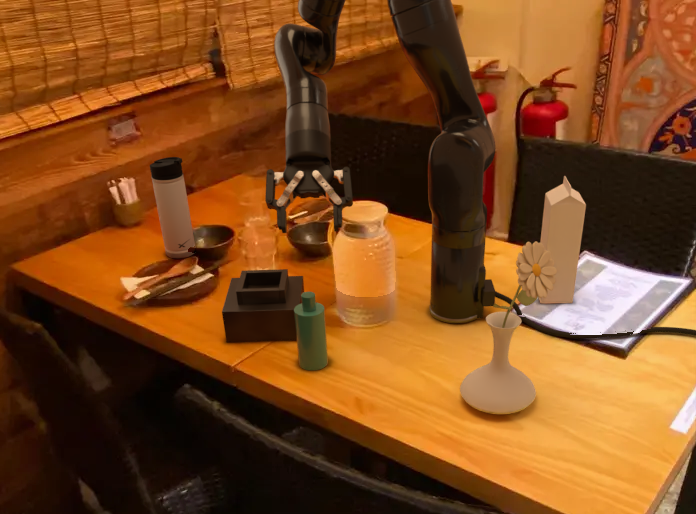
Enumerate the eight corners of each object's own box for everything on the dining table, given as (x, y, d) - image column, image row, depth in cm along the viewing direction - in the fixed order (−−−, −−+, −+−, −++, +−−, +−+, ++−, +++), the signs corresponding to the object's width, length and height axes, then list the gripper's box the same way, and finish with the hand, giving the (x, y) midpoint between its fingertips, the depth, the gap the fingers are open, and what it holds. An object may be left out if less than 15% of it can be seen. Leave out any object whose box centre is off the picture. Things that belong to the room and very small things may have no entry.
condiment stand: (305, 305, 145) (302, 262, 140) (301, 340, 135) (298, 296, 130) (235, 307, 145) (229, 265, 140) (226, 342, 134) (219, 298, 129)
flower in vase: (482, 429, 113) (494, 270, 98) (446, 389, 121) (452, 238, 107) (559, 407, 117) (580, 252, 102) (518, 370, 125) (533, 222, 111)
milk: (540, 304, 144) (552, 187, 131) (535, 289, 149) (546, 175, 136) (573, 303, 144) (588, 186, 131) (567, 288, 149) (581, 174, 136)
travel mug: (190, 260, 163) (174, 164, 151) (161, 257, 164) (142, 163, 152) (202, 247, 168) (187, 154, 156) (173, 245, 169) (156, 153, 157)
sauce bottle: (328, 354, 130) (324, 287, 123) (327, 370, 126) (322, 301, 119) (299, 355, 130) (293, 288, 123) (298, 371, 126) (291, 302, 119)
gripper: (262, 128, 127) (263, 223, 124) (349, 125, 127) (353, 220, 124) (268, 151, 134) (269, 240, 131) (351, 148, 134) (354, 237, 131)
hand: (310, 230), depth 128 cm, fingers open, 8 cm apart
